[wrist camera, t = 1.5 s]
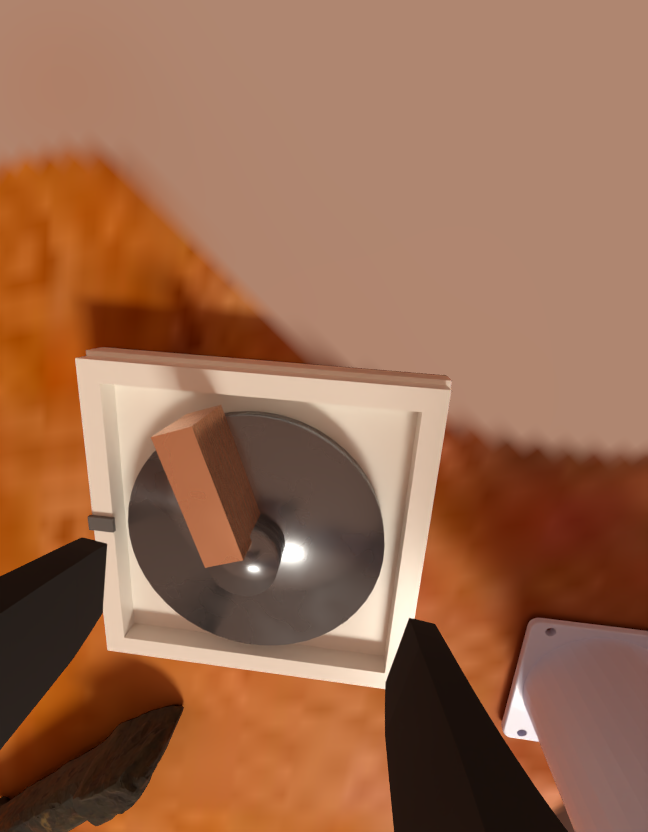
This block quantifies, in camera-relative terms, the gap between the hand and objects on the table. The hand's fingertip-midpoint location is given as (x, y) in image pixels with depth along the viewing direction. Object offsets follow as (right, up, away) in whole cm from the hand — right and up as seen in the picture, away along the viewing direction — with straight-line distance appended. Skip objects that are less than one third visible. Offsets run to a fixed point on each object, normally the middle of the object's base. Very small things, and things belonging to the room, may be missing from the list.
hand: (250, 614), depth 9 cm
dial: (-2, -1, +10) cm, 10 cm away
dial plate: (-1, 0, +11) cm, 11 cm away
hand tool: (-15, -18, +18) cm, 30 cm away
